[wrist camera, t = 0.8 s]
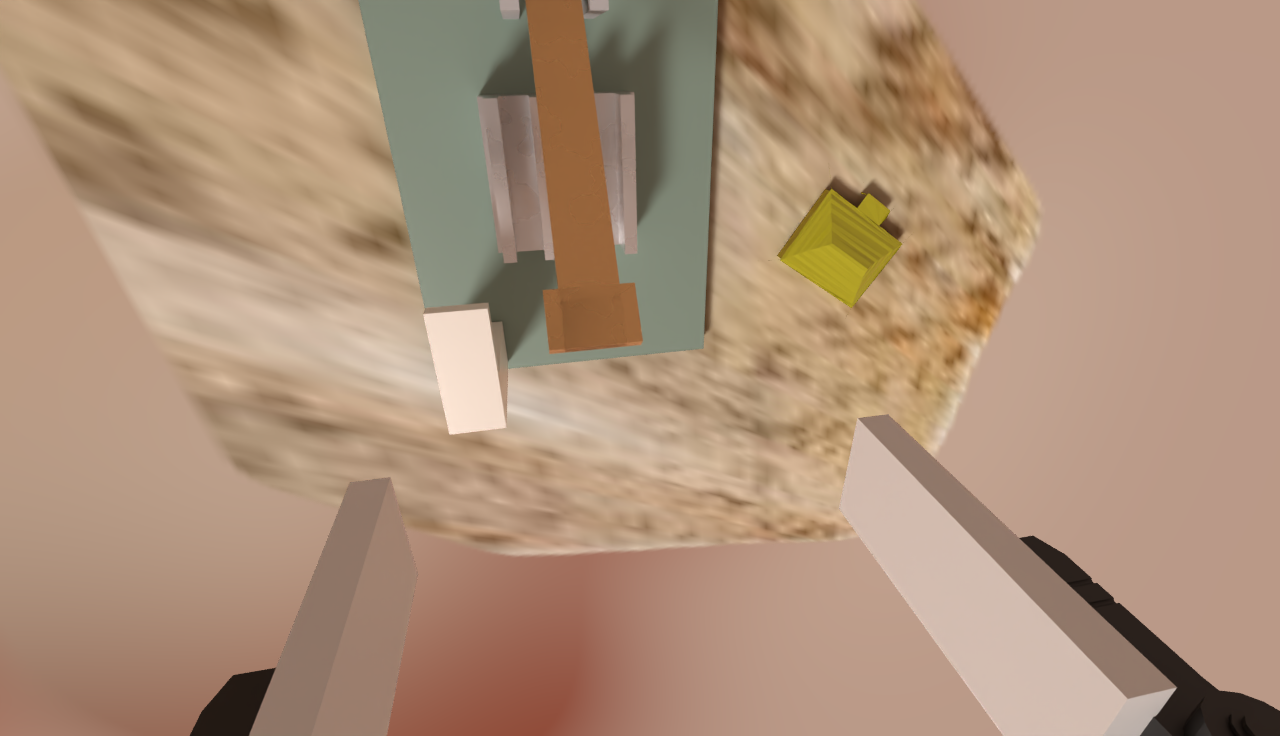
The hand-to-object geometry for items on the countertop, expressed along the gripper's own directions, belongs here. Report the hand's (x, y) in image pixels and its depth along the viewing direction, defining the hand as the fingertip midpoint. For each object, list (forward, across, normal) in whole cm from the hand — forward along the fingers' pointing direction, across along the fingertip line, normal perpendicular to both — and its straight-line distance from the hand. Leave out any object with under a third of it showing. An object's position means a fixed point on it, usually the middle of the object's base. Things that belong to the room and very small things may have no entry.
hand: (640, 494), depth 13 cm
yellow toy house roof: (+27, +19, -3) cm, 33 cm away
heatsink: (+25, 0, +3) cm, 25 cm away
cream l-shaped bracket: (+25, -6, -5) cm, 26 cm away
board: (+26, 0, +3) cm, 26 cm away
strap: (+16, 0, +5) cm, 16 cm away
